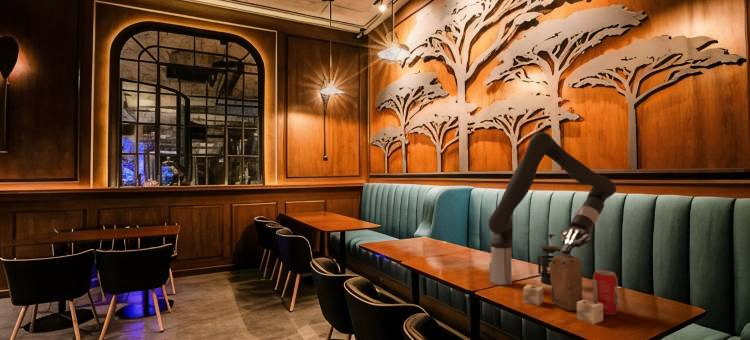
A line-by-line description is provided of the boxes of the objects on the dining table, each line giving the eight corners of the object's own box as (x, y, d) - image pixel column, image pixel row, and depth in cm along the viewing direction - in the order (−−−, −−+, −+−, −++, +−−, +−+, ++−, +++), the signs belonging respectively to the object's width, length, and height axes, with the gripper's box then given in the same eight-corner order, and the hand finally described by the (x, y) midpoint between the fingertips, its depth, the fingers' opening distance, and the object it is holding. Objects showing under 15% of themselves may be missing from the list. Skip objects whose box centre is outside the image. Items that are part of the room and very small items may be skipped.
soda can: (588, 310, 141) (588, 270, 141) (602, 306, 144) (601, 268, 144) (608, 317, 133) (608, 275, 134) (623, 313, 136) (622, 273, 137)
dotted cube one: (523, 302, 150) (523, 287, 150) (528, 298, 154) (527, 283, 154) (538, 306, 146) (538, 290, 146) (543, 301, 150) (543, 286, 150)
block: (584, 310, 140) (583, 258, 140) (568, 313, 138) (567, 259, 138) (562, 301, 150) (562, 252, 150) (547, 303, 148) (546, 253, 148)
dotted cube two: (576, 318, 133) (576, 301, 133) (586, 315, 136) (585, 298, 136) (594, 324, 128) (593, 306, 128) (603, 320, 131) (602, 303, 131)
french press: (568, 283, 174) (567, 235, 174) (555, 287, 169) (555, 237, 169) (545, 277, 184) (544, 231, 184) (533, 280, 179) (532, 233, 179)
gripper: (565, 212, 154) (545, 244, 149) (596, 215, 142) (575, 250, 137) (574, 224, 157) (554, 256, 151) (605, 227, 144) (584, 262, 139)
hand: (564, 253), depth 144 cm, fingers closed
